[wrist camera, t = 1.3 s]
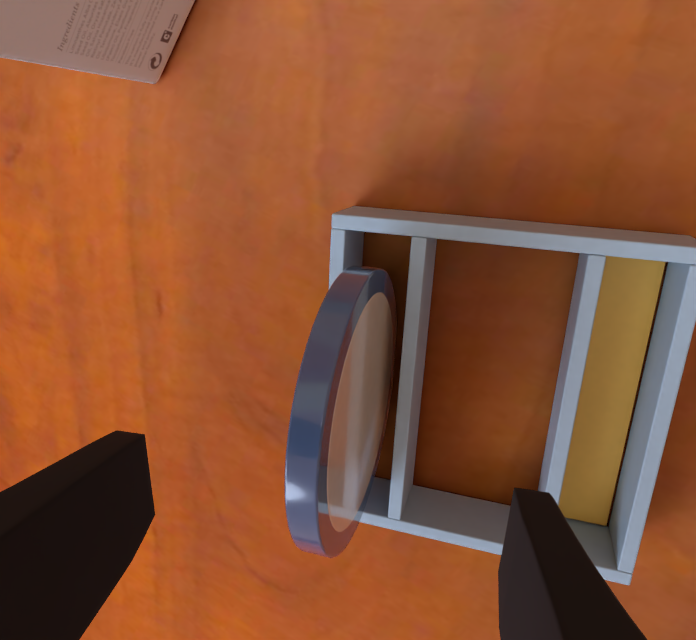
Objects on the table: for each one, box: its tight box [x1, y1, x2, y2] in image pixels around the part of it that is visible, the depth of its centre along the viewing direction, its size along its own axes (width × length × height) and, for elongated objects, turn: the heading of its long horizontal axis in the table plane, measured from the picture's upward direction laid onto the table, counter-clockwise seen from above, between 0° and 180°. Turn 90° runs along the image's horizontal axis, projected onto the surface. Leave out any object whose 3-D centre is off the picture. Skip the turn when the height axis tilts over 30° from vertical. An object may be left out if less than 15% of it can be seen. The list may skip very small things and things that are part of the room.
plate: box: [285, 266, 397, 558], centre depth 19 cm, size 9×1×9 cm, turn 178°
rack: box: [329, 206, 696, 585], centre depth 20 cm, size 12×11×2 cm
